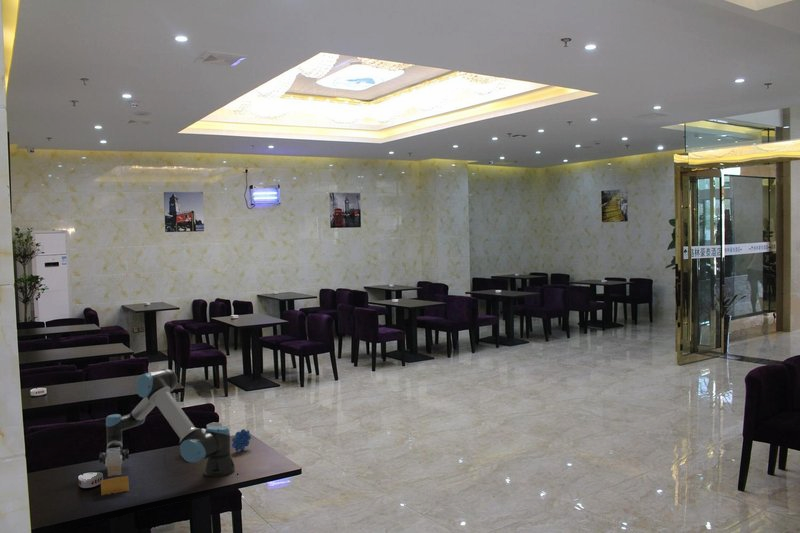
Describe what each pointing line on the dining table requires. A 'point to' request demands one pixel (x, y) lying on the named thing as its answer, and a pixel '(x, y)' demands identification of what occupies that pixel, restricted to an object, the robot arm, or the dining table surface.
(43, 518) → the dining table surface
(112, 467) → the aluminium block
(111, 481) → the orange rectangular block
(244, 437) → the grapes
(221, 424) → the mug
